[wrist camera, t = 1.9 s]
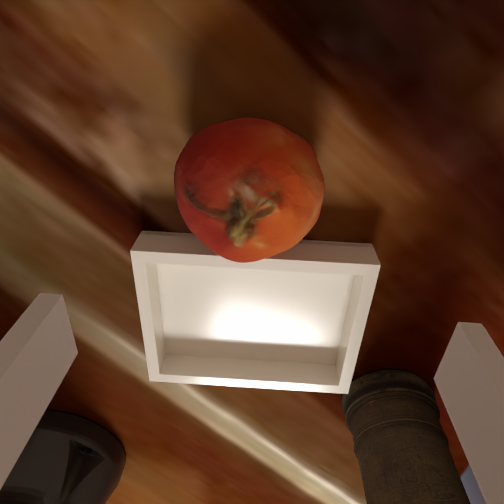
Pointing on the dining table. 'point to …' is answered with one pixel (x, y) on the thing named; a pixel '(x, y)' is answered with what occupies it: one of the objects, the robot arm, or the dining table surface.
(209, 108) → the dining table surface
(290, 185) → the tomato
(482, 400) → the robot arm
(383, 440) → the container
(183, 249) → the dish
